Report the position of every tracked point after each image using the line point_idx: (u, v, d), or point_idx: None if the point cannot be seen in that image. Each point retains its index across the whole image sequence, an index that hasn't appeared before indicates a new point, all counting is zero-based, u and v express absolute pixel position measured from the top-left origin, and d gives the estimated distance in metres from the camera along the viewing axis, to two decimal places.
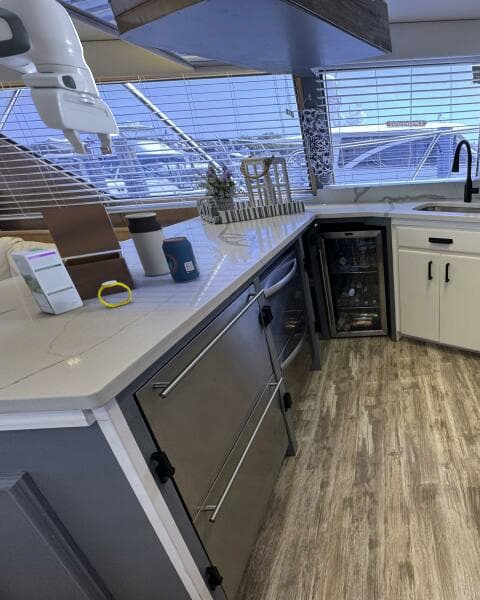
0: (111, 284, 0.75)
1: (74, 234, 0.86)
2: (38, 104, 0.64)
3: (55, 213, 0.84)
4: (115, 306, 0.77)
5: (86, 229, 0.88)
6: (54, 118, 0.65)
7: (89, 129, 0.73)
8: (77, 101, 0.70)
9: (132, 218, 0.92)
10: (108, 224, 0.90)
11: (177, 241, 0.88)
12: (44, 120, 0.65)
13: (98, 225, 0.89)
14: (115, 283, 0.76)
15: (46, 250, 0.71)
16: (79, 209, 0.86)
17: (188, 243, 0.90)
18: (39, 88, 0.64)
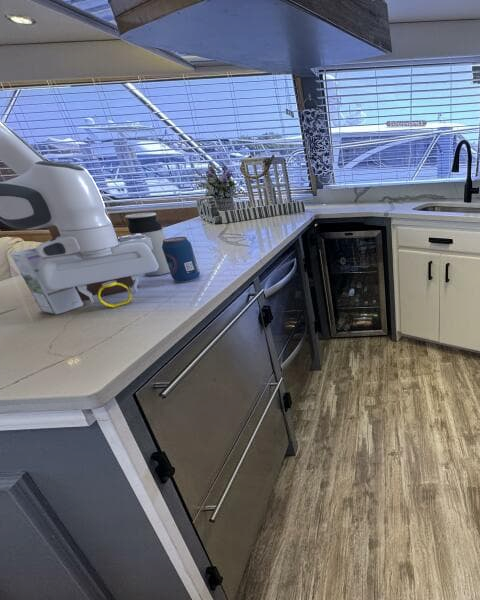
0: (111, 284, 0.75)
1: None
2: None
3: None
4: (115, 306, 0.77)
5: None
6: (44, 283, 0.68)
7: (95, 281, 0.72)
8: (80, 259, 0.70)
9: (132, 218, 0.92)
10: None
11: (177, 241, 0.88)
12: None
13: None
14: (115, 283, 0.76)
15: None
16: None
17: (188, 243, 0.90)
18: None
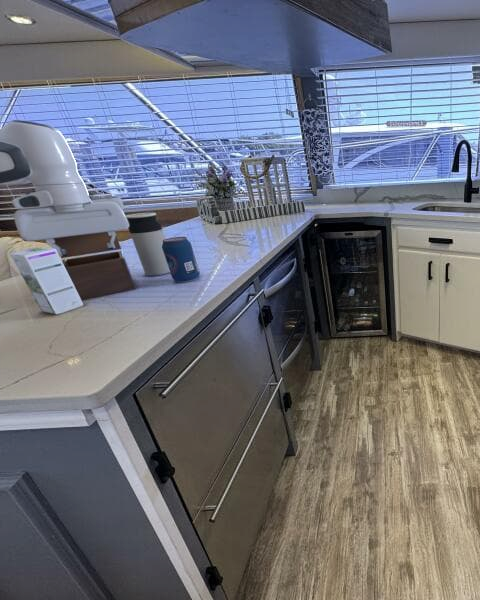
0: None
1: None
2: None
3: None
4: None
5: None
6: None
7: (68, 235, 0.79)
8: (54, 213, 0.77)
9: (132, 218, 0.92)
10: None
11: (177, 241, 0.88)
12: None
13: None
14: None
15: (46, 250, 0.71)
16: None
17: (188, 243, 0.90)
18: None
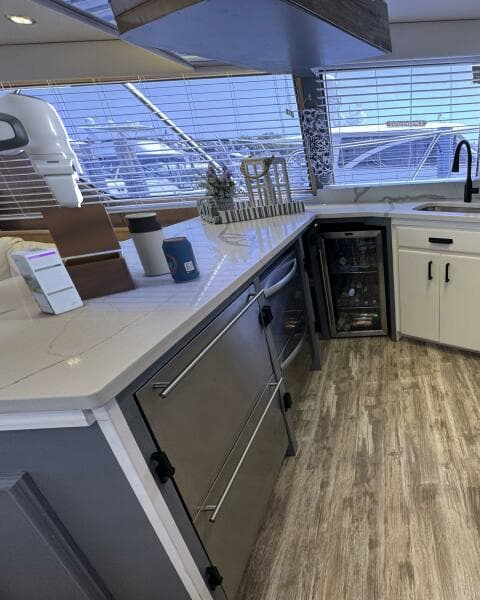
0: None
1: (74, 234, 0.86)
2: (55, 188, 0.78)
3: (55, 213, 0.83)
4: None
5: (86, 229, 0.88)
6: (70, 198, 0.80)
7: (80, 201, 0.87)
8: None
9: (132, 218, 0.92)
10: (108, 224, 0.90)
11: (177, 241, 0.88)
12: (60, 201, 0.79)
13: (98, 225, 0.89)
14: None
15: (46, 250, 0.71)
16: (79, 209, 0.86)
17: (188, 243, 0.90)
18: (52, 175, 0.78)
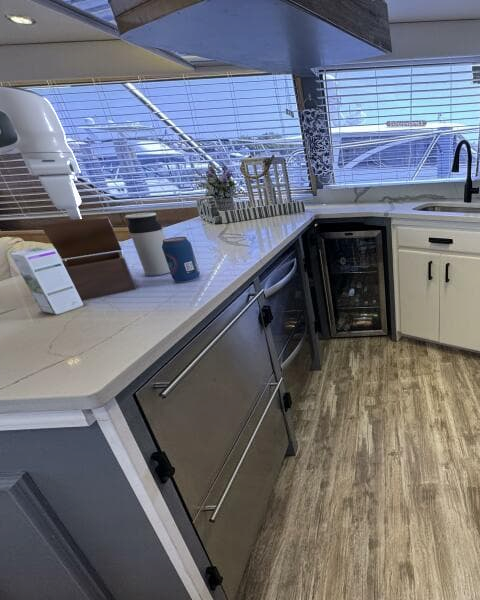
0: None
1: (75, 242, 0.84)
2: (51, 190, 0.72)
3: (56, 226, 0.78)
4: None
5: (88, 237, 0.85)
6: (67, 201, 0.73)
7: None
8: None
9: (132, 218, 0.92)
10: (111, 232, 0.87)
11: (177, 241, 0.88)
12: (57, 203, 0.72)
13: (100, 234, 0.86)
14: None
15: (46, 250, 0.71)
16: (81, 222, 0.81)
17: (188, 243, 0.90)
18: (48, 176, 0.72)
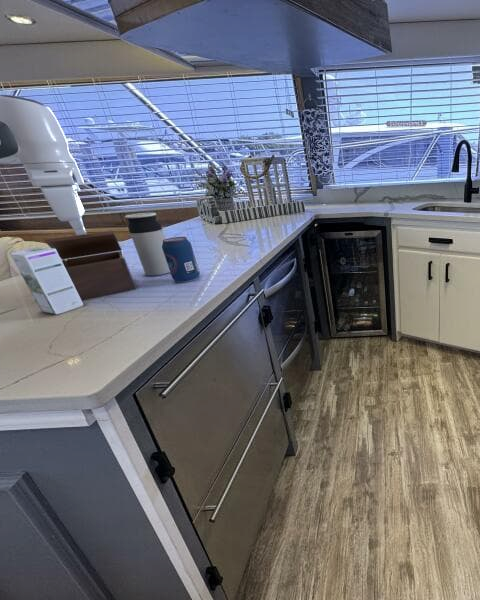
0: None
1: (78, 249, 0.83)
2: (54, 201, 0.70)
3: (61, 242, 0.78)
4: None
5: (91, 246, 0.84)
6: (70, 212, 0.72)
7: None
8: None
9: (132, 218, 0.92)
10: (114, 241, 0.87)
11: (177, 241, 0.88)
12: (60, 215, 0.71)
13: (104, 243, 0.85)
14: None
15: (46, 250, 0.71)
16: (87, 238, 0.80)
17: (188, 243, 0.90)
18: (50, 187, 0.70)
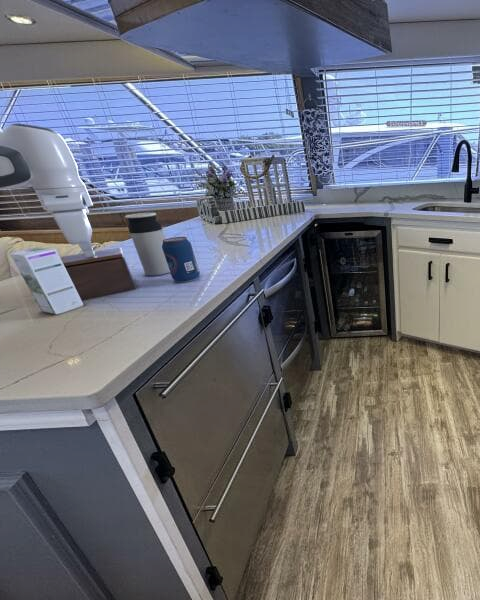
0: None
1: None
2: (65, 226, 0.72)
3: (70, 264, 0.79)
4: None
5: None
6: (80, 236, 0.74)
7: None
8: None
9: (132, 218, 0.92)
10: None
11: (177, 241, 0.88)
12: (70, 239, 0.73)
13: None
14: None
15: (46, 250, 0.71)
16: (96, 260, 0.81)
17: (188, 243, 0.90)
18: (61, 212, 0.72)
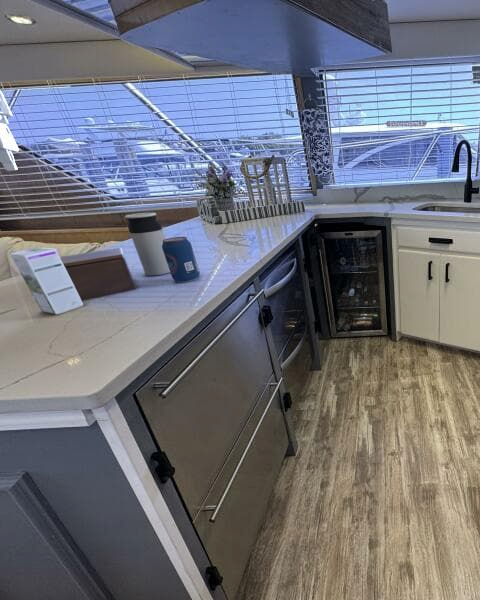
0: None
1: None
2: None
3: None
4: None
5: None
6: None
7: (9, 147, 0.78)
8: None
9: (132, 218, 0.92)
10: None
11: (177, 241, 0.88)
12: None
13: None
14: None
15: (46, 250, 0.71)
16: (96, 261, 0.81)
17: (188, 243, 0.90)
18: None
